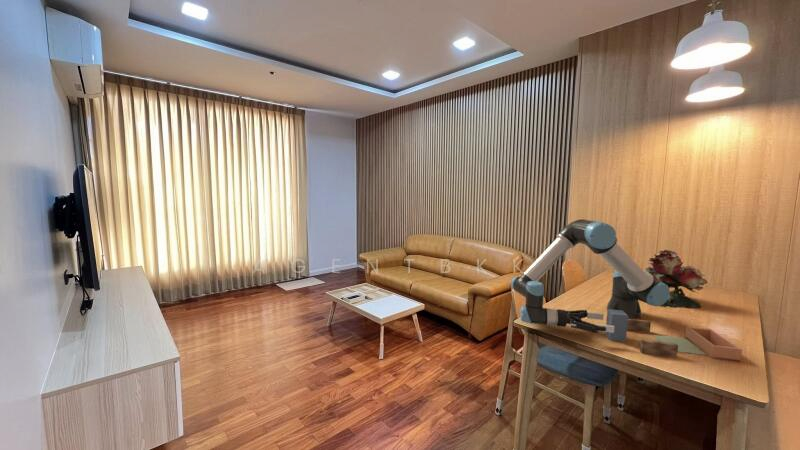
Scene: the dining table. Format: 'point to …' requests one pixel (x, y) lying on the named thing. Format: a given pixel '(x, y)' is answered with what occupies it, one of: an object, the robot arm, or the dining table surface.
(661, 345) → the walled lane
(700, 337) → the tan open box
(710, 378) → the dining table surface
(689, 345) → the pad
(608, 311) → the tall block
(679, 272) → the rose bouquet
